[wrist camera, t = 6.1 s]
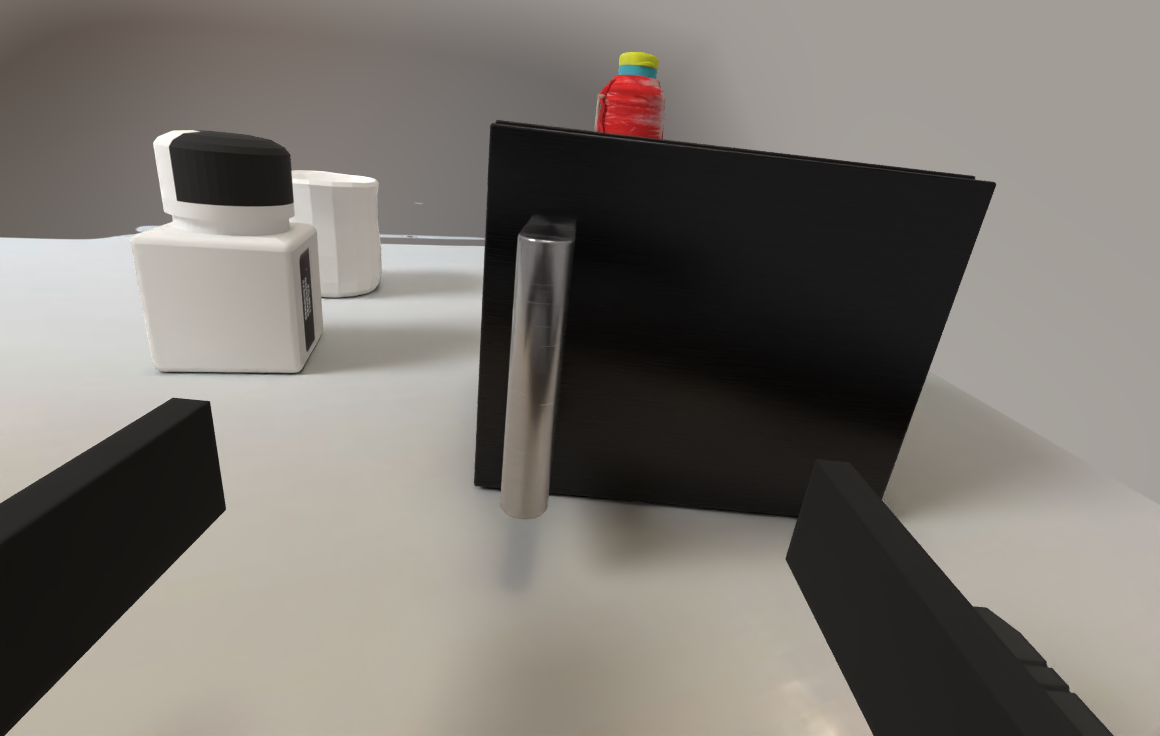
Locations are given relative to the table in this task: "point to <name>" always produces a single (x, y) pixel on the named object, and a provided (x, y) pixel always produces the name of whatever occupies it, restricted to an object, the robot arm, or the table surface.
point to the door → (704, 318)
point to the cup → (341, 229)
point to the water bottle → (632, 99)
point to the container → (228, 259)
